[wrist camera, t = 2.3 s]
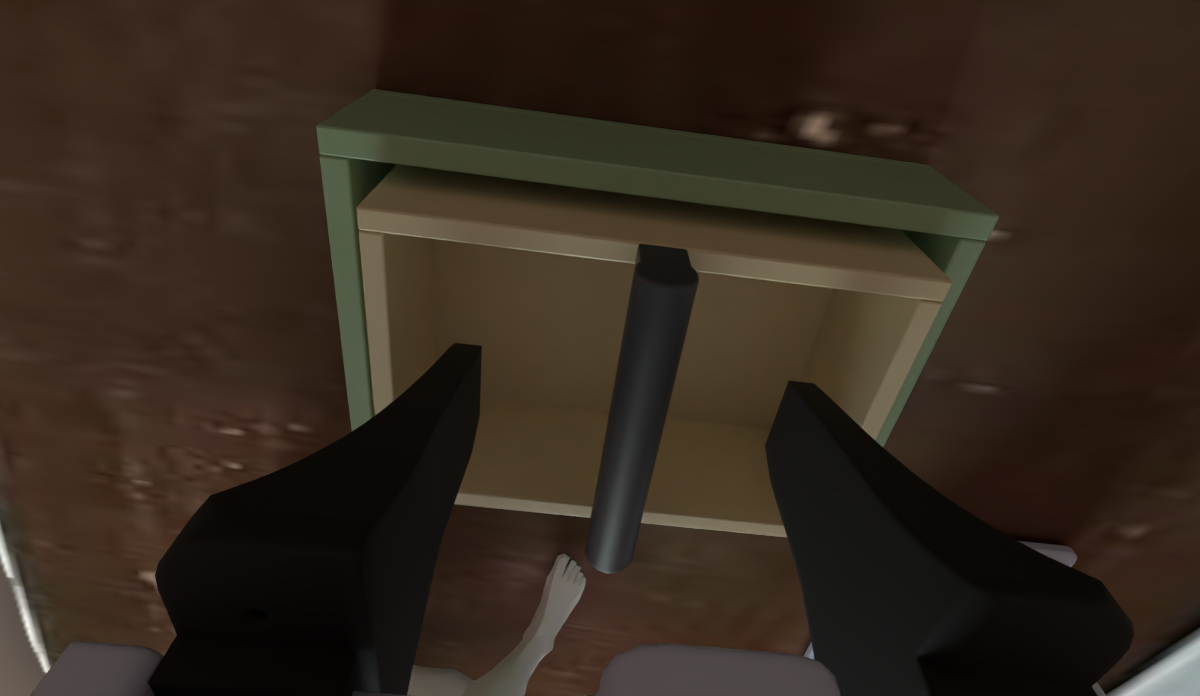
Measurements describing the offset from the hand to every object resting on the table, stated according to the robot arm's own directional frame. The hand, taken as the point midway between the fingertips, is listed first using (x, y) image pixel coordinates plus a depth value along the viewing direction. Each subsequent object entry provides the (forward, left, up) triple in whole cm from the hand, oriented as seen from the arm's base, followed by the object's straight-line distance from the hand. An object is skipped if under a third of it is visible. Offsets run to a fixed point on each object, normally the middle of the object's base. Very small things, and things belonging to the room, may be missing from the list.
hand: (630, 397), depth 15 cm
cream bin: (0, 0, -4) cm, 4 cm away
